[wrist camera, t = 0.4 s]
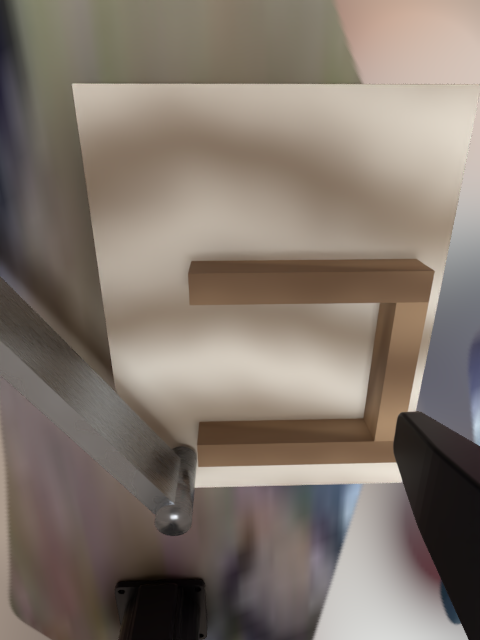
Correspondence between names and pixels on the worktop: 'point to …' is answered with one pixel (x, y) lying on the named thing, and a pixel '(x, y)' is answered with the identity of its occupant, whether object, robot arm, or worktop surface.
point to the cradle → (273, 264)
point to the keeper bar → (94, 415)
